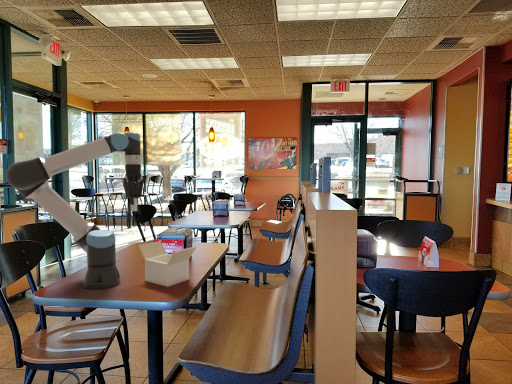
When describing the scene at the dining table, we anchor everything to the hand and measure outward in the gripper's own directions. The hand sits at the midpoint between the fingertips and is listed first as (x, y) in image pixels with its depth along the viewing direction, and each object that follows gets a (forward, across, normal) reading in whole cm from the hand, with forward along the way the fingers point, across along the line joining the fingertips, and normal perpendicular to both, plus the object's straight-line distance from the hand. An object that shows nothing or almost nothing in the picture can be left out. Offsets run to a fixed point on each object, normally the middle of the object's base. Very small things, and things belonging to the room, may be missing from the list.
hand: (134, 210), depth 179 cm
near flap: (+17, -2, -36) cm, 40 cm away
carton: (+30, -2, -26) cm, 40 cm away
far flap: (+17, -2, -16) cm, 24 cm away
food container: (+31, +23, +14) cm, 41 cm away
